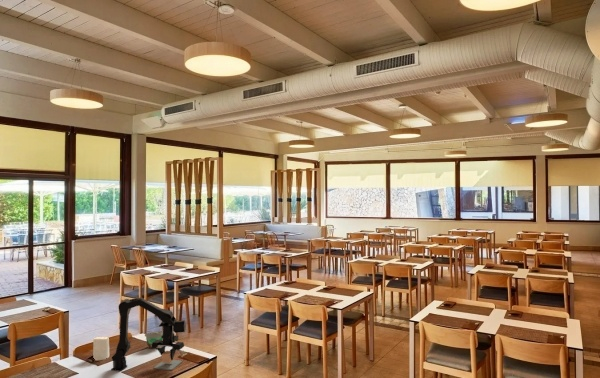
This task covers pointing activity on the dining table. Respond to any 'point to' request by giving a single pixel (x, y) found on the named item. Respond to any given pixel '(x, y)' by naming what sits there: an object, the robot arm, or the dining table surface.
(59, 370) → the dining table surface
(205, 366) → the dining table surface
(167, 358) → the terracotta cube
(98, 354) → the white upright block
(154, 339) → the food container
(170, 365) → the place mat
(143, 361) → the dining table surface
